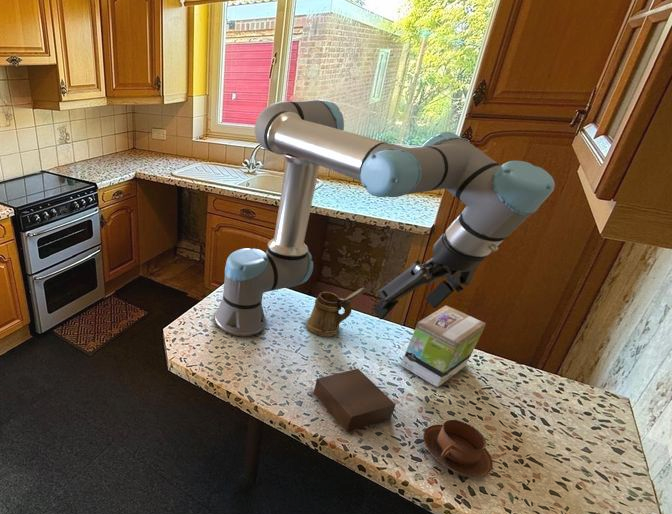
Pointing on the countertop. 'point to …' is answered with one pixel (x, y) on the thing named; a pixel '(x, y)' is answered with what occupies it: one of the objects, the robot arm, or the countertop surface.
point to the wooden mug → (330, 312)
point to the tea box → (442, 345)
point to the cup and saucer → (459, 448)
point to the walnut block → (353, 400)
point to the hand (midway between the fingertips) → (404, 308)
